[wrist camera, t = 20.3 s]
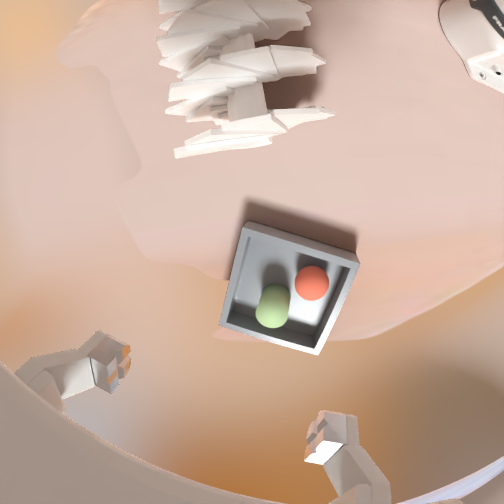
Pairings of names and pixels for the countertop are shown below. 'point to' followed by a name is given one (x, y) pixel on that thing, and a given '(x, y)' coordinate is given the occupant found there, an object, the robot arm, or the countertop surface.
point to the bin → (286, 285)
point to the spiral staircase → (234, 69)
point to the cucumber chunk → (273, 306)
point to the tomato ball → (311, 283)
